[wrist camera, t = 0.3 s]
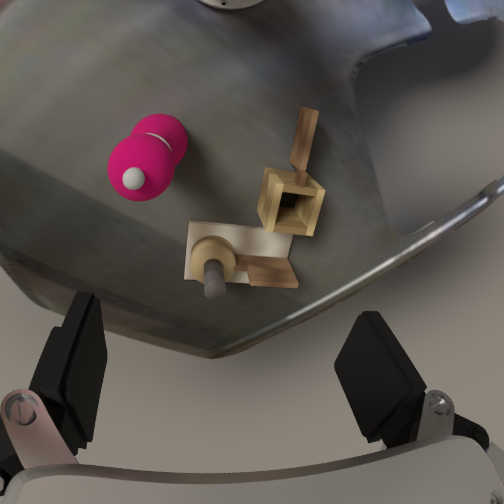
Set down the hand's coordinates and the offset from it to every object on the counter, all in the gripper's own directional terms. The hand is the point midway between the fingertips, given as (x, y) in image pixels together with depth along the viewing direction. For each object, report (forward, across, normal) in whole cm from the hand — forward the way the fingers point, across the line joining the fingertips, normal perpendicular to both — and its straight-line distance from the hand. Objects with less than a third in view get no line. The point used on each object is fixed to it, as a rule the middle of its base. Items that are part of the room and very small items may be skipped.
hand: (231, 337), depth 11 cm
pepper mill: (+35, +6, -1) cm, 36 cm away
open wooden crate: (+35, -12, 0) cm, 37 cm away
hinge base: (+35, -7, +16) cm, 39 cm away
